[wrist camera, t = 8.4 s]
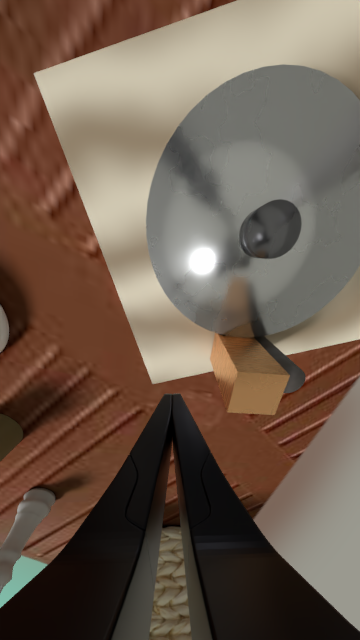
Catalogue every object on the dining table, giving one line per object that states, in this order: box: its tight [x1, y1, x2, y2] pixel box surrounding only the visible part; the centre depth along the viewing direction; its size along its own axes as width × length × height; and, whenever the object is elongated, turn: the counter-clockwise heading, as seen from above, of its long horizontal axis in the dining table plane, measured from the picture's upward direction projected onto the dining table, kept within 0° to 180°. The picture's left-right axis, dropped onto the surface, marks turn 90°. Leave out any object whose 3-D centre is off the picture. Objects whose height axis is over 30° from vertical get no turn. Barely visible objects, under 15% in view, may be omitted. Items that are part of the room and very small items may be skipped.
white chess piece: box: [0, 488, 55, 593], centre depth 22 cm, size 4×4×8 cm
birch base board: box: [34, 0, 360, 393], centre depth 11 cm, size 22×22×6 cm
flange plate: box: [146, 64, 360, 415], centre depth 10 cm, size 18×15×6 cm
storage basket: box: [149, 526, 192, 640], centre depth 25 cm, size 24×16×15 cm
